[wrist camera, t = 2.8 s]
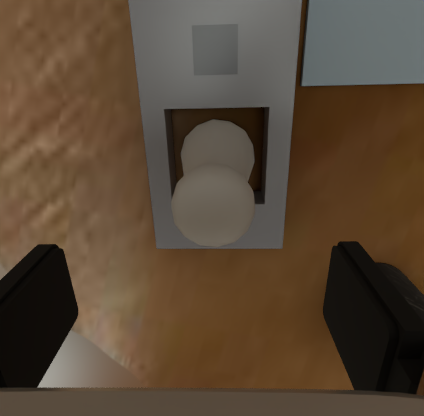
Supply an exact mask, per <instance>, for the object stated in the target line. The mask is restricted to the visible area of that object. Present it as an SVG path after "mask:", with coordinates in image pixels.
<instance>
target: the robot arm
mask: <svg viewBox="0 0 424 416" xmlns="http://www.w3.org/2000/svg"><path fill="white" fill-rule="evenodd" d="M323 315H324V319H325V321H326V324H327V326H328V328H329V331H330V333H331V335H332V338H333V340H334V343H335V345H336V347H337V350H338V352H339V354H340V357H341V359H342V361H343V364H344V366H345V369H346V371H347V373H348V376H349V378H350V380H351V383H352V385H353V388H354V390H324V389H253V388H37V387H38V385H39V383H40V382H41V380H42V378H43V376H44V375H45V373H46V371H47V369H48V368H49V366H50V364H51V363H52V361H53V359H54V357H55V356H56V354H57V352H58V350H59V349H60V347H61V345H62V343H63V342H64V340H65V338H66V336H67V335H68V333H69V331H70V330H71V328H72V326H73V324H74V323H75V321H76V319H77V316H78V306H77V302H76V298H75V294H74V290H73V286H72V282H71V278H70V274H69V270H68V266H67V262H66V258H65V254H64V251H63V249H61V248H59V247H58V246H57V245H56V244H40V245H37V246H36V247H35V248H34V249H33V250H31V251H30V252H29V253H28V254H27V255H26V256H25V257H24V258H23V259H22V260H21V261H20V262H19V263H18V264H17V265H16V266H15V267H14V268H13V269H12V270H10V271H9V272H8V273H7V274H6V275H5V276H4V277H3V278H2V279H1V280H0V416H424V322H423V321H422V319H421V318H420V317H419V316H418V314H417V313H416V312H415V311H414V309H413V308H412V307H411V306H410V305H409V303H408V302H407V301H406V300H405V298H404V297H403V296H402V295H401V293H400V292H399V291H398V290H397V289H396V287H395V286H394V285H393V284H392V283H391V282H390V281H389V280H388V278H387V277H386V276H385V275H384V273H383V272H382V271H381V270H380V268H379V267H378V266H377V265H376V263H375V262H374V261H373V260H372V258H371V257H370V256H369V255H368V254H367V252H366V251H365V250H364V249H363V247H362V246H361V245H360V244H359V243H358V242H356V241H351V242H339V243H338V245H337V246H333V248H332V252H331V259H330V266H329V272H328V279H327V286H326V292H325V299H324V306H323Z"/></svg>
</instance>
